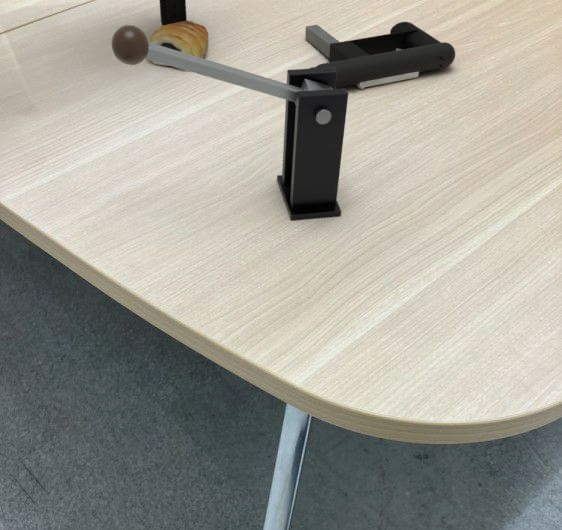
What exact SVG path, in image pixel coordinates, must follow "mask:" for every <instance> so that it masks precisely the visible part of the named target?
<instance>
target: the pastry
mask: <svg viewBox="0 0 562 530" xmlns="http://www.w3.org/2000/svg"><path fill="white" fill-rule="evenodd" d="M149 42H150V43H153V44H156V45H160V46H163V47H166V48H170V49H173V50H176V51H180V52H183V53H186V54H190V55H193V56H196V57H200V58H203V59H204V57H205V55H206V52H207V50H208V49H207V48H208V44H209V31H208V30H207V27H206V26H204V25H201V24H199V23H196V22H194V21H192V20H187V21H183V22H176V23H172V24H168V25H163V26H162V25H161V26H160V27H159V29H157V30H155V31H154V32H153V33H152V35H151V37H150V40H149ZM150 62H151V63H152V64H154V65H158V66H162V67H164V66H167V67H168V66H170V65H166V64H163V63H159V62H156V61H152V60H150ZM170 67H171V66H170Z"/></svg>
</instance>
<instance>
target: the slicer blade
mask: <svg viewBox="0 0 562 530" xmlns="http://www.w3.org/2000/svg"><path fill="white" fill-rule="evenodd" d="M111 50H112V52H113V54H114V56H115V58H116V59H117V60H118V61H119V62H121V63H122V64H123V65H127V66H137V65H140V64H142V62H144V61H145V59H146V60H149V61H151V60H152V61H156V62H159V63H163V64H166V65H170V67H173V68H177V69H180V70H183V71H187V72H191V73H194V74H196V75H201V76H204V77H207V78H210V79H214V80H217V81H220V82H221V81H222V82H225V83H228V84H232V85H235V86H238V87H241V88H245V89H249V90H252V91H255V92H258V93H262V94H266V95H269V96H272V97H276V98H279V99H283V100H285V101H286V100H289V101H293V102H295V104H296V99H297V91H312V90H329V89H333V88H332V87H330V86H327V85H324V84H321V83H317V82H314V81H311V80H308V79H304V82H303V84H302V86H301V88H299V87H296V86H292V85H289V84H287V82H282V81H279V80H275V79H272V78H270V77H266V76H262V75H259V74H256V73H252V72H249V71H245V70H243V69H239V68H237V67H236V68H235V67H232V66H229V65H226V64H222V63H219V62H216V61H212V60H209V59H206V58H204V57H203V58H200V57H196V56H193V55H190V54H186V53H183V52H180V51H176V50H173V49H170V48H166V47H163V46H160V45H156V44H153V43H150V40H149V38H148V37H147V34H146V32H144V31H143V30H142V29H141V28H139V27H138V26H136V25H132V24H127V25H123V26H121V27H119V28H118V29H117V30H116V31H115V32H114V33H113V35H112V38H111Z"/></svg>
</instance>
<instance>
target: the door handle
mask: <svg viewBox="0 0 562 530" xmlns="http://www.w3.org/2000/svg"><path fill="white" fill-rule="evenodd" d="M305 38H306V39H307V40H308V41H309V42H308V41H307V40H306V39H305ZM304 39H305V40H306V41H307V42H308V43H309V44H310V45H312V46H313V47H314V48H316V49H317V50H318V51H319V52H321V53H322V54H323V55H324V56H325V57H327V59H328V62H325V63H319V64H317V65H316V66H312V67H309V69H313V68H331V67H334V68H335V70H336V71H337V77H336V87H335V89H341V88H344V87H351V86H355V85H356V87H357V88H359V89H360V90H364V89H365V88H367V87H373V86H378V85H379V86H380V85H383V84H390V83H393V82H394V83H395V82H400V81H404V80H409V79H415V78H418V77H419V74H420V73H423V72H424V73H425V72H429V71H436V70H439V69H445V68H447V67H449V66H451V65H452V64H453V63H454V62H455V59H456V49H455V47H454V46H453V45H452V44H451V43H449V42H445V41H444V42H441V41H440V40H438V38H437V39H436V38H435V37H433V36H432V35H430V34H429V33H428V32H426V31H425V30H423V29H421V28H419V27H418V26H416V24H413V23H412V22H410V21H400V22H397V23H396V24H394V25H393V26H391V29H390V31H389V33H386V34H381V35H380V34H379V35H374V36H369V37H363V38H357V39H351V40H345V41H339V40H338V39H337V38H335V37H334V36H333V35H331V34H330V33H329V32H328V31H326V29H323V28H322V27H321V26H319V25H318V24H313V25H306V26H305V37H304Z"/></svg>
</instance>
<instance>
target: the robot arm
mask: <svg viewBox="0 0 562 530" xmlns="http://www.w3.org/2000/svg"><path fill="white" fill-rule="evenodd" d="M158 2H159V12H160V13H159V15H160V22H161V26H163V25H168V24H172V23H176V22H183V21H188V18H187V0H159V1H158Z"/></svg>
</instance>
